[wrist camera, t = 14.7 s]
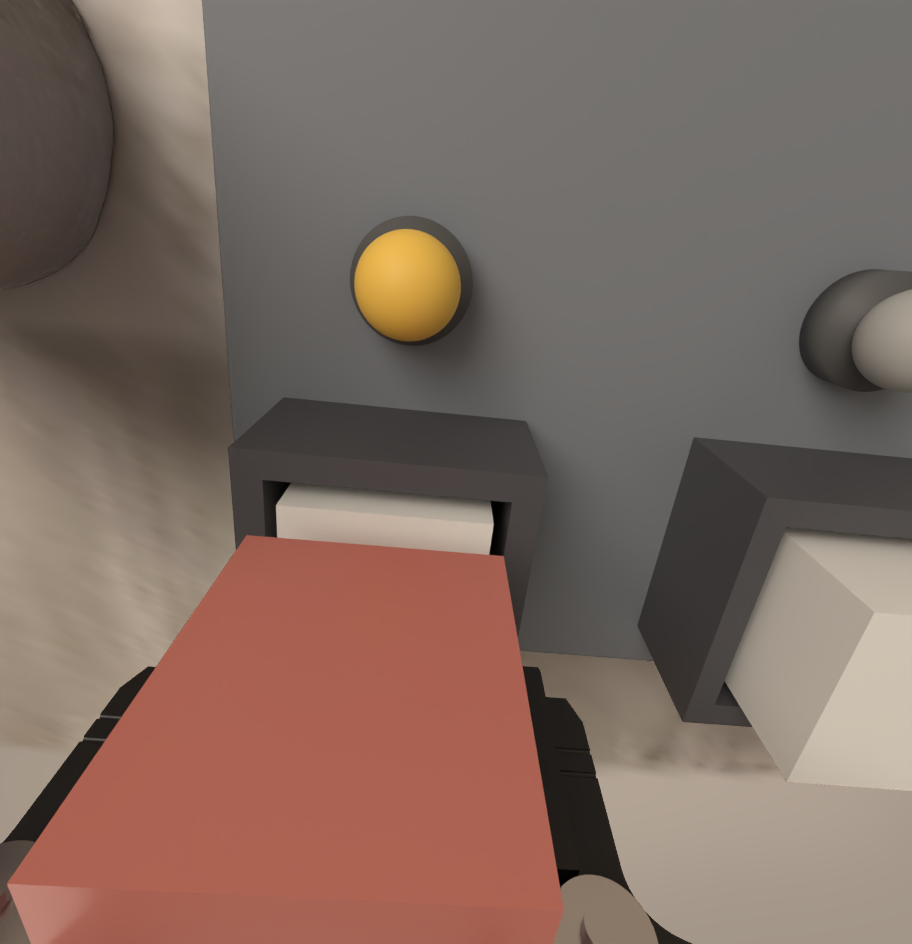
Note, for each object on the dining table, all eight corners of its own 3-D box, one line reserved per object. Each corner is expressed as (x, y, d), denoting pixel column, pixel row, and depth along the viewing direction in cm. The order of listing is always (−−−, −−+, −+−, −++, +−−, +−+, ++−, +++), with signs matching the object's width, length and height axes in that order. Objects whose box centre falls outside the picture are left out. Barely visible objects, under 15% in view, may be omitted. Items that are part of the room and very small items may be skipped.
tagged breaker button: (466, 591, 17) (469, 686, 14) (319, 579, 17) (282, 672, 13) (484, 456, 15) (493, 524, 12) (319, 441, 15) (275, 505, 12)
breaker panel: (820, 639, 21) (949, 779, 16) (266, 593, 20) (195, 725, 15) (1174, -99, 12) (1753, -371, 7) (222, -238, 11) (7, -681, 6)
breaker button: (864, 667, 16) (987, 796, 12) (709, 655, 16) (786, 782, 12) (938, 529, 14) (1111, 631, 10) (762, 513, 14) (874, 612, 10)
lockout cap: (474, 735, 12) (494, 1130, 7) (259, 722, 12) (101, 1119, 7) (503, 556, 10) (563, 910, 5) (246, 534, 10) (7, 882, 5)
